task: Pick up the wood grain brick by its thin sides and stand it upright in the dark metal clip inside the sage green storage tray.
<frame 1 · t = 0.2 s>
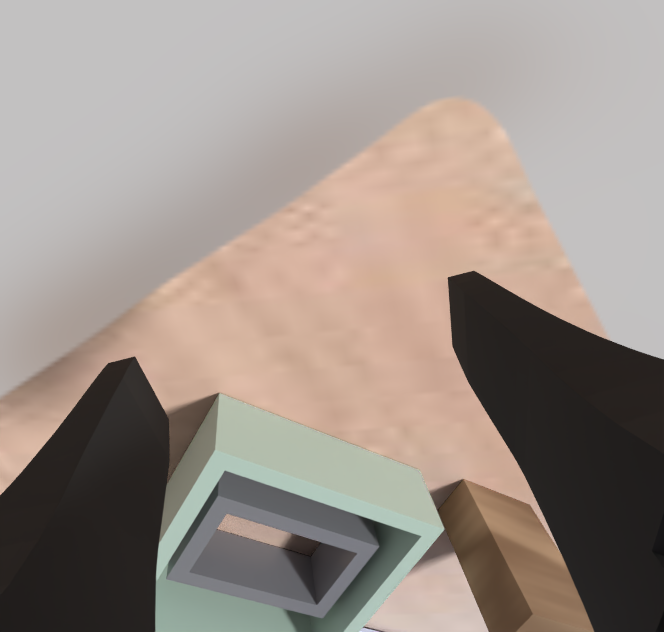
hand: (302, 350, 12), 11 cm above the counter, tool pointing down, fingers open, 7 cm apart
sage green storage tray: (272, 515, 28), on the counter
wood grain brick: (484, 507, 31), on the counter
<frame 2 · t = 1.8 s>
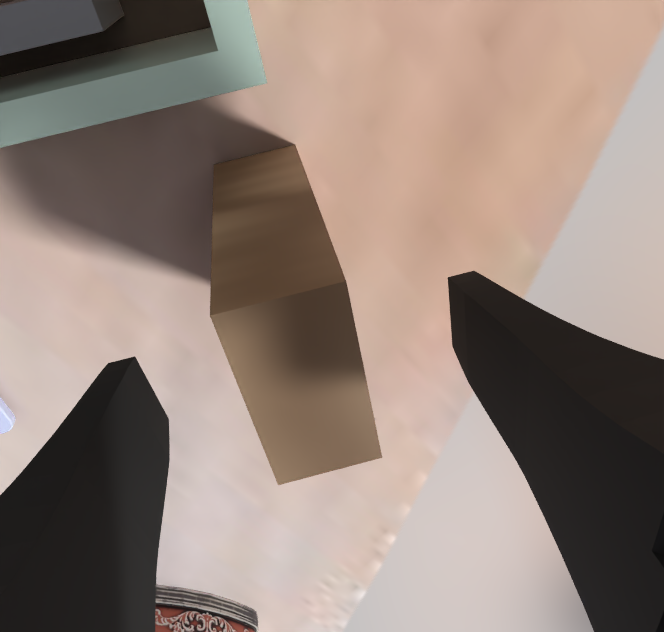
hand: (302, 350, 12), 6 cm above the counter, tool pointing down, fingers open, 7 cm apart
wood grain brick: (275, 228, 18), on the counter
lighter: (192, 605, 30), on the counter
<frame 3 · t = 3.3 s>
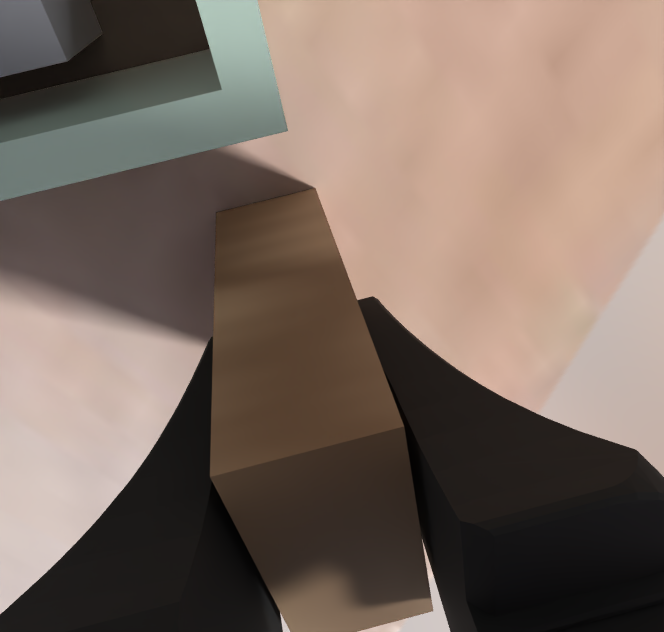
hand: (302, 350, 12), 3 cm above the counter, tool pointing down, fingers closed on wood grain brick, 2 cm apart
wood grain brick: (289, 284, 15), on the counter, touching gripper
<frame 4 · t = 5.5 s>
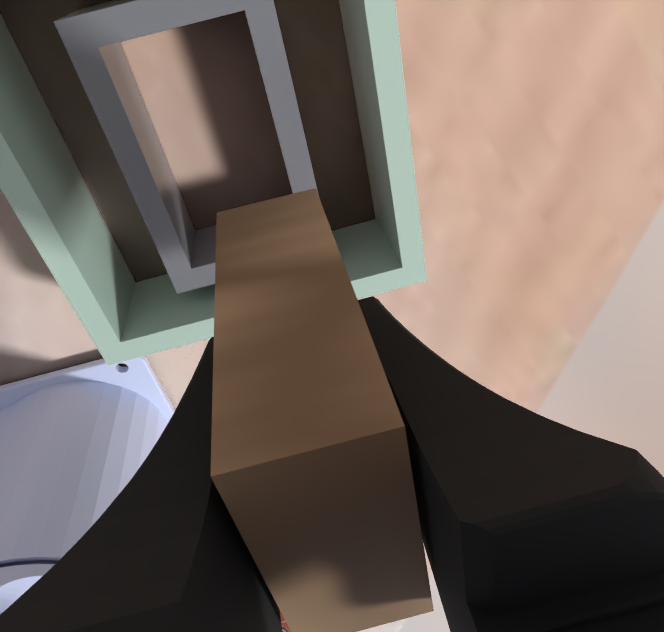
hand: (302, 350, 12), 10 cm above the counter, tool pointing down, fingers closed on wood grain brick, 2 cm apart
sage green storage tray: (215, 127, 19), on the counter
wood grain brick: (289, 284, 15), point 7 cm above the counter, touching gripper
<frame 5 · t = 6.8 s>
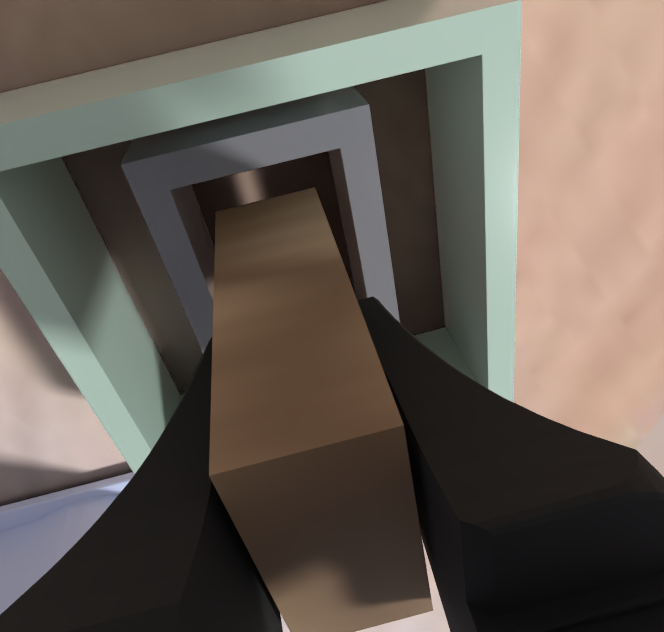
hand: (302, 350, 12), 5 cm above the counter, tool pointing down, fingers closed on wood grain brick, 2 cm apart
sage green storage tray: (280, 242, 17), on the counter
wood grain brick: (289, 283, 15), point 3 cm above the counter, touching gripper
when the fingers open (4 cm above the counter, at t = 7.8 s): wood grain brick drops 2 cm, resting in sage green storage tray.
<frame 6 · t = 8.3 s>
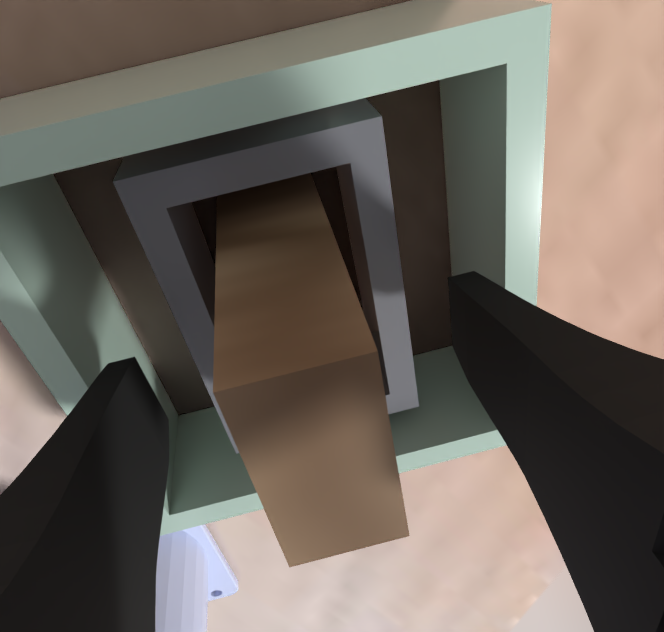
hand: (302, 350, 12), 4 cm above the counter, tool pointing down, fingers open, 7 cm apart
sage green storage tray: (284, 258, 16), on the counter
wood grain brick: (284, 257, 16), resting in sage green storage tray
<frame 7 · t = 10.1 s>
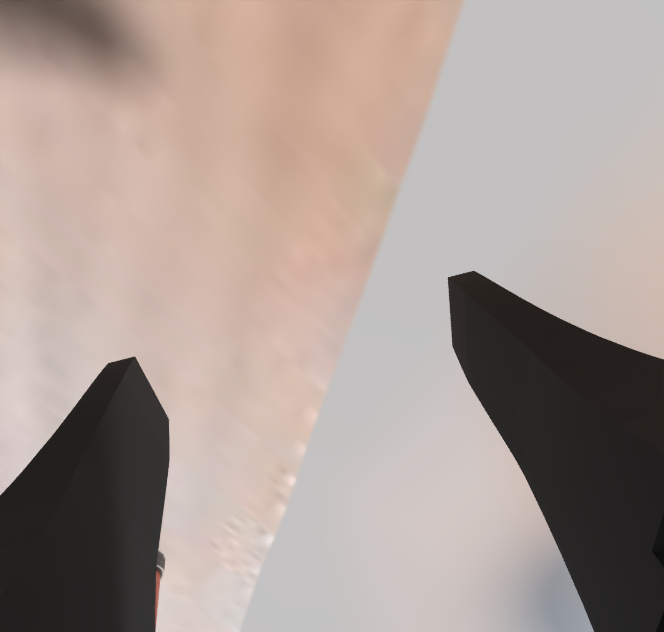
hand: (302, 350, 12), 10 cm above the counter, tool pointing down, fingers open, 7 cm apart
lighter: (98, 546, 30), on the counter
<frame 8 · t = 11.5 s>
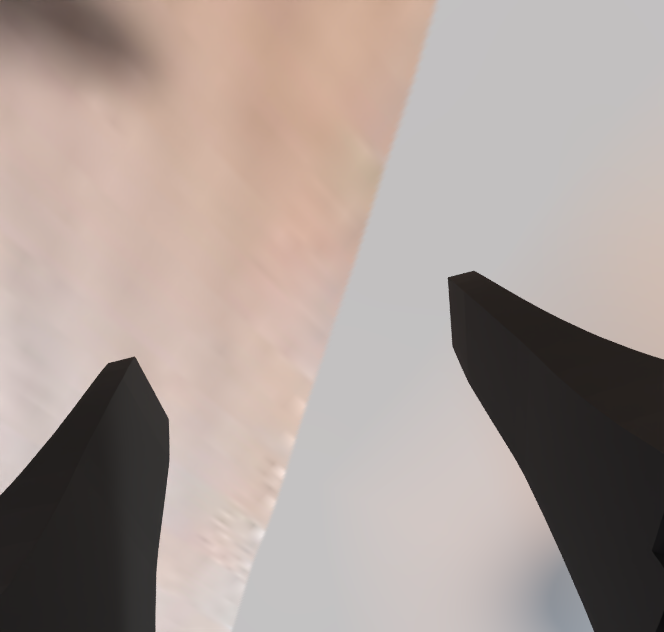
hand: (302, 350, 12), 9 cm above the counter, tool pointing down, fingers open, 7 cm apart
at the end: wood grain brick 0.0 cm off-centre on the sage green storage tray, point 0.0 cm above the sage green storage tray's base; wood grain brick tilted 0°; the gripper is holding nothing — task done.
